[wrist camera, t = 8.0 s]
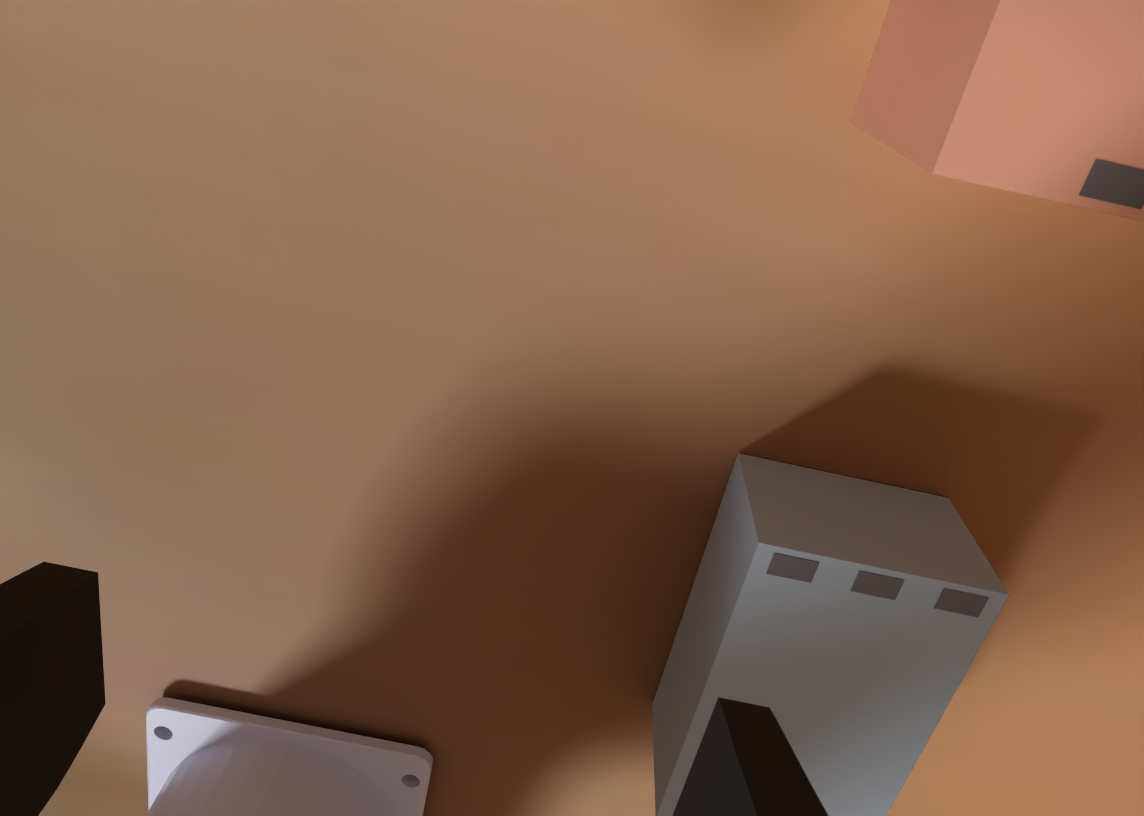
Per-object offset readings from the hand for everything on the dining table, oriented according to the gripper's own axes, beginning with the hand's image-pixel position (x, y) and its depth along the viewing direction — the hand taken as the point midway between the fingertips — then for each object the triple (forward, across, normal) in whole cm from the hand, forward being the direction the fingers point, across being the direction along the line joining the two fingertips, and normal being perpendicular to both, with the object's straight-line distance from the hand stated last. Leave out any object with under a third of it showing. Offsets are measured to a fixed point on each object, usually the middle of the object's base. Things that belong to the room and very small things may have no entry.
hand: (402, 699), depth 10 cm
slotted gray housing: (+10, -8, +5) cm, 14 cm away
